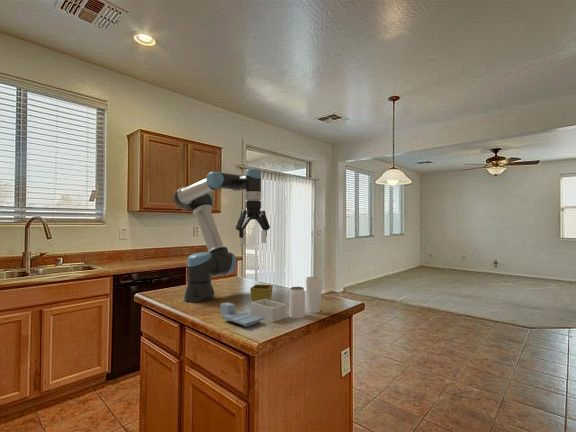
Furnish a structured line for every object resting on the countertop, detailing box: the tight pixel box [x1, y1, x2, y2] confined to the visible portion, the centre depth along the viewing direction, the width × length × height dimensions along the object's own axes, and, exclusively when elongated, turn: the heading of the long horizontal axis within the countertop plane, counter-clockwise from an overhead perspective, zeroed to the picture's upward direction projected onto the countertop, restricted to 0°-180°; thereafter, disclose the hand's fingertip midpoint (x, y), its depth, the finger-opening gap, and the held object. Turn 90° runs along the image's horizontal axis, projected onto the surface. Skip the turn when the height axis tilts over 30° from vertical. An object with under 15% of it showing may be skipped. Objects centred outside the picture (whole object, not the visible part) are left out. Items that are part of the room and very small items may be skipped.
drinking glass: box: [305, 276, 323, 314], centre depth 137 cm, size 7×7×15 cm
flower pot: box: [249, 284, 274, 302], centre depth 148 cm, size 9×9×9 cm
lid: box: [219, 301, 264, 328], centre depth 123 cm, size 19×9×6 cm, turn 47°
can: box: [288, 286, 306, 319], centre depth 130 cm, size 6×6×12 cm
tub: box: [250, 299, 287, 323], centre depth 129 cm, size 13×8×6 cm, turn 47°
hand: (253, 243), depth 154 cm, fingers open, 13 cm apart
